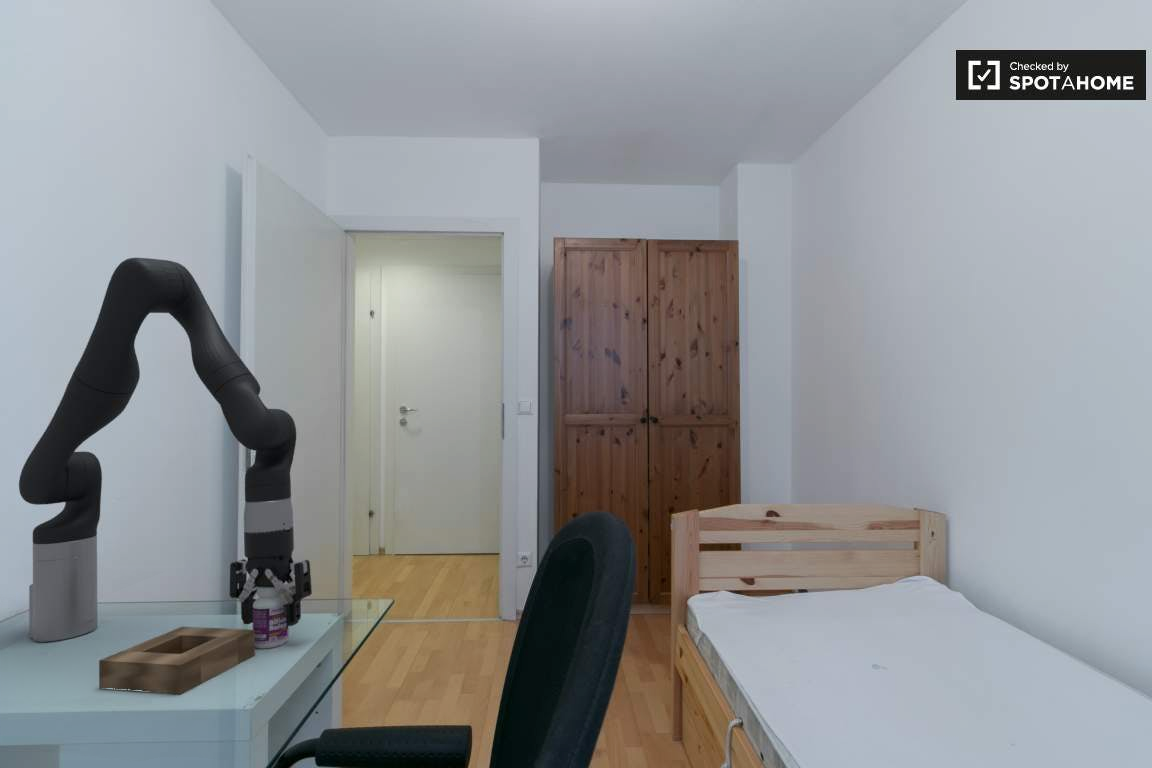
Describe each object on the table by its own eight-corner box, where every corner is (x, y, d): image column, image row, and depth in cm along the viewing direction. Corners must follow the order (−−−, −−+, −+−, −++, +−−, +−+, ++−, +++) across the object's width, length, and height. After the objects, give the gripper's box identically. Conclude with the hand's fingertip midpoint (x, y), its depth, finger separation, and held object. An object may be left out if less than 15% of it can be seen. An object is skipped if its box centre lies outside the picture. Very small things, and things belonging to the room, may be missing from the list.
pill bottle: (274, 650, 101) (273, 590, 101) (246, 649, 102) (245, 589, 103) (295, 638, 106) (294, 581, 107) (268, 637, 107) (267, 580, 108)
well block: (99, 688, 89) (99, 660, 89) (182, 651, 102) (181, 626, 102) (180, 694, 85) (179, 665, 86) (254, 655, 99) (254, 629, 99)
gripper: (216, 530, 103) (217, 630, 102) (290, 530, 100) (292, 633, 99) (249, 522, 110) (251, 615, 110) (319, 522, 107) (322, 617, 106)
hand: (271, 623), depth 104 cm, fingers open, 8 cm apart
